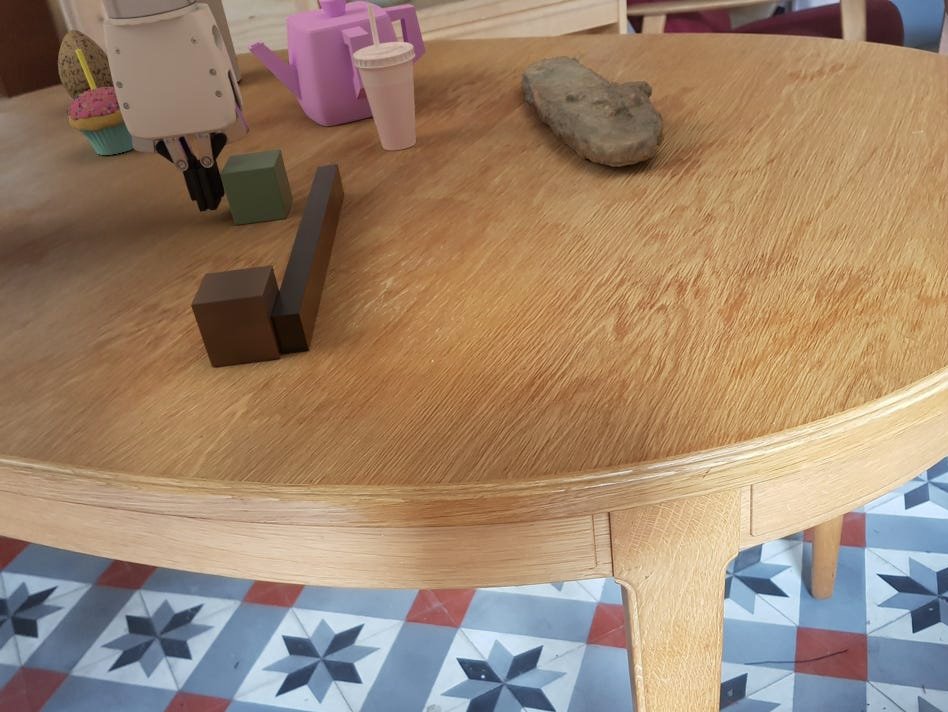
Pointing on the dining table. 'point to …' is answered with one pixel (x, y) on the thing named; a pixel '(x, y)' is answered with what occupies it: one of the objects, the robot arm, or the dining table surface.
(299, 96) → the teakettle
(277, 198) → the green block
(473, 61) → the dining table surface
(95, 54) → the decorative egg
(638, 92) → the long grey stone
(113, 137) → the cupcake
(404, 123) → the smoothie
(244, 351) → the walnut block
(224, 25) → the travel mug
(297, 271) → the rail
